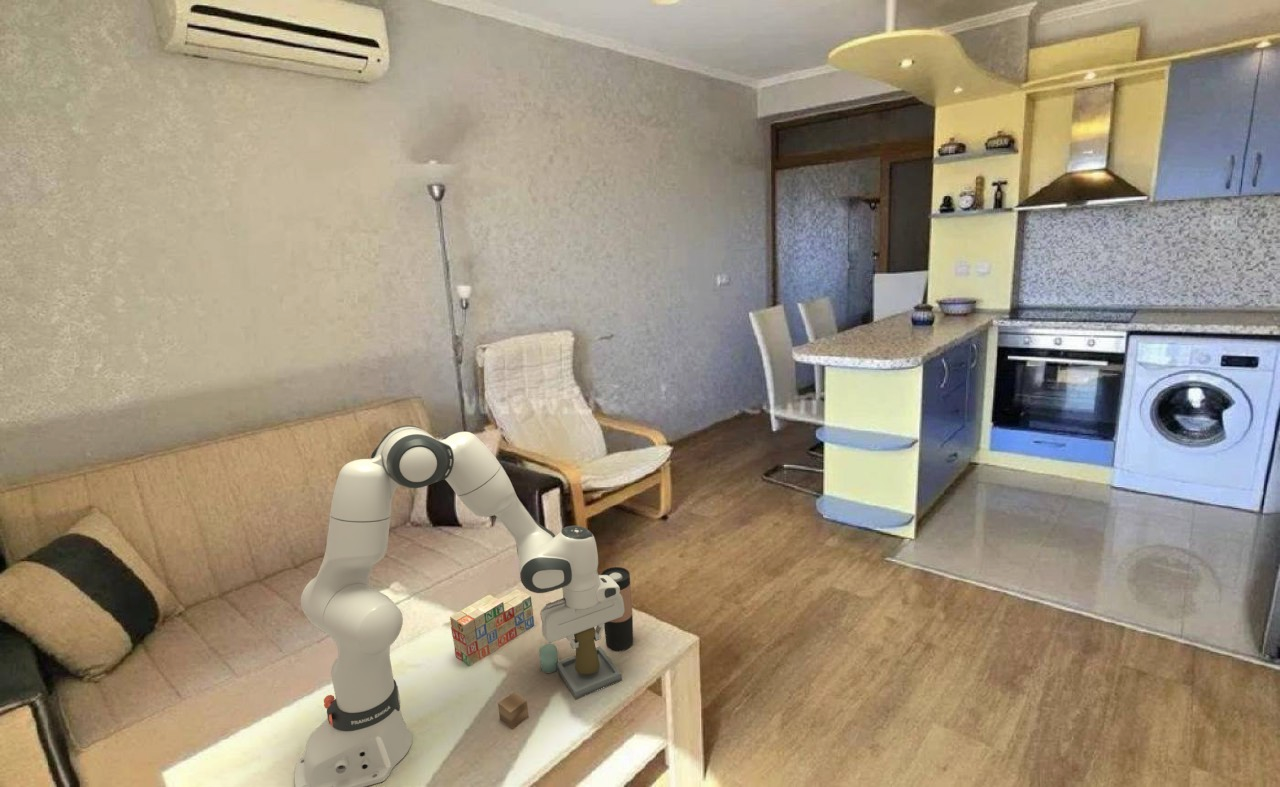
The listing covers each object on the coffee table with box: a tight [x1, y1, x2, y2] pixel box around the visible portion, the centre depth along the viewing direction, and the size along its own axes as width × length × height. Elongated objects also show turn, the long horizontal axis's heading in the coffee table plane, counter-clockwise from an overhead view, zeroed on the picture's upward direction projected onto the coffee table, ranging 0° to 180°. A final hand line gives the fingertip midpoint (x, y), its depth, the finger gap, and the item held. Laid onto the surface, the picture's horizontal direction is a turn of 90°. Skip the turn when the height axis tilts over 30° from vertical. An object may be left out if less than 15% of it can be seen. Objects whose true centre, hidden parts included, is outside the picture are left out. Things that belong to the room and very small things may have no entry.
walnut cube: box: [497, 691, 529, 730], centre depth 138 cm, size 4×4×4 cm
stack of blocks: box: [449, 588, 535, 667], centre depth 164 cm, size 21×6×12 cm, turn 139°
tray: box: [556, 645, 623, 700], centre depth 151 cm, size 12×12×2 cm
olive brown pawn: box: [573, 627, 600, 674], centre depth 149 cm, size 6×6×11 cm
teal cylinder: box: [538, 643, 559, 674], centre depth 154 cm, size 4×4×5 cm
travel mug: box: [600, 566, 634, 652], centre depth 160 cm, size 8×8×20 cm
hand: (586, 643), depth 149 cm, fingers closed on olive brown pawn, 4 cm apart
